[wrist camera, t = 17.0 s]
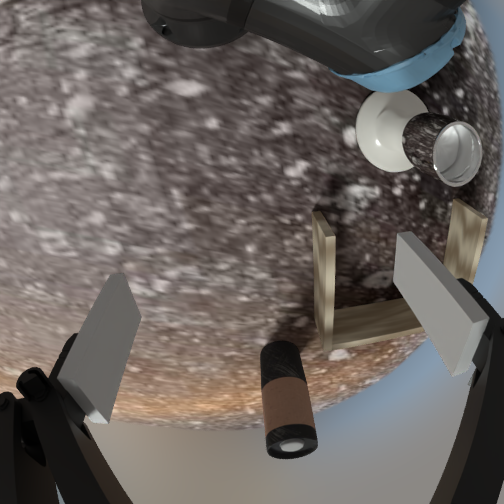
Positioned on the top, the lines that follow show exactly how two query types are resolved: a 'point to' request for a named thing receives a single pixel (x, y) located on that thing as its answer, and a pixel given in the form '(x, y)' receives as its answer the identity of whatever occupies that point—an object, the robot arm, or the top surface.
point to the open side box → (393, 311)
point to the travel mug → (286, 403)
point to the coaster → (367, 127)
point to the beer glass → (432, 143)
